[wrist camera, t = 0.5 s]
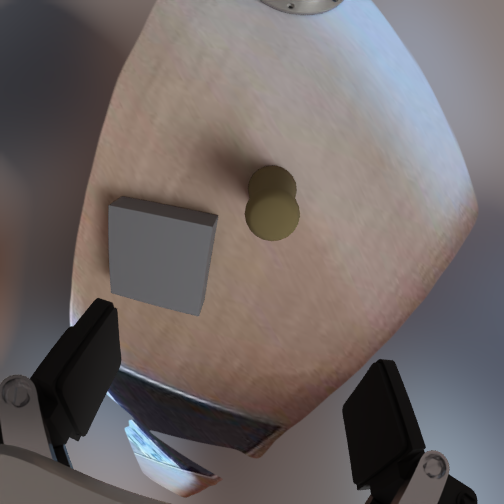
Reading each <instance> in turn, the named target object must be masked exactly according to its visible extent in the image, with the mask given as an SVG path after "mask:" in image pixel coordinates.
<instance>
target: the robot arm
mask: <svg viewBox="0 0 504 504" xmlns="http://www.w3.org/2000/svg"><path fill="white" fill-rule="evenodd" d="M261 1H262V2H263V3H265V4H267V5H268V6H270V7H272V8H274V9H277V10H279V11H282V12H285V13H289V14H296V15H315V14H321V13H324V12H327V11H330V10H332V9H334V8H336V7H337V6H338V5H339V4H341V3H342V2H343V0H334V1H335V2H333V1H332V0H261ZM289 7H292V8H293V9H289ZM120 365H121V351H120V341H119V329H118V313H117V308H114V306H113V303H112V302H109V301H106V300H103V299H100V298H97V299H96V300H95V301H94V302H93V303H92V304H91V305H90V307H89V308H88V309H87V310H86V312H85V313H84V314H83V315H82V316H81V318H80V319H79V320H78V321H77V323H76V324H75V325H74V326H71V327H69V328H68V329H67V330H66V331H65V333H64V334H63V335H62V336H61V338H60V339H59V340H58V341H57V343H56V344H55V345H54V347H53V348H52V349H51V351H50V352H49V353H48V355H47V356H46V357H45V359H44V360H43V361H42V363H41V364H40V365H39V367H38V368H37V369H36V371H35V372H34V374H33V375H32V377H31V378H30V379H29V378H27V377H26V376H22V375H12V376H9V377H7V378H5V379H4V380H3V381H2V382H1V384H0V504H170V503H166V502H162V501H158V500H155V499H152V498H148V497H145V496H142V495H139V494H136V493H132V492H129V491H126V490H124V489H121V488H118V487H116V486H113V485H110V484H107V483H105V482H102V481H100V480H97V479H95V478H92V477H90V476H88V475H85V474H83V473H81V472H79V471H76V470H74V469H73V467H72V464H71V461H70V458H69V455H68V452H67V449H66V446H65V444H66V443H67V441H68V439H69V437H70V438H72V439H75V440H77V441H79V439H80V437H81V436H85V435H86V434H87V432H88V430H89V428H90V426H91V424H92V422H93V420H94V417H95V415H96V413H97V411H98V409H99V407H100V405H101V403H102V401H103V399H104V397H105V395H106V393H107V391H108V389H109V387H110V385H111V383H112V381H113V379H114V377H115V375H116V373H117V372H118V370H119V368H120ZM342 412H343V419H344V424H345V430H346V437H347V442H348V449H349V456H350V462H351V470H352V476H353V482H354V483H355V484H357V490H366V489H370V490H371V495H370V496H369V498H368V500H367V501H366V503H365V504H477V496H476V494H475V493H474V491H473V490H472V489H471V488H469V487H468V486H466V485H464V484H463V483H461V482H460V481H458V480H456V479H455V478H453V477H452V476H450V475H449V463H448V461H447V459H446V457H445V456H444V455H443V454H441V453H440V452H438V451H433V450H431V451H427V452H426V453H425V452H424V449H425V448H426V447H425V444H424V440H423V437H422V435H421V431H420V428H419V425H418V422H417V419H416V417H415V414H414V411H413V408H412V405H411V403H410V400H409V397H408V395H407V392H406V390H405V387H404V384H403V381H402V379H401V376H400V374H399V371H398V369H397V366H396V364H395V362H394V361H393V360H382V359H379V360H378V361H377V362H376V363H373V364H372V365H371V367H370V368H369V370H368V371H367V373H366V374H365V376H364V377H363V379H362V380H361V381H360V383H359V384H358V386H357V387H356V389H355V390H354V392H353V393H352V394H351V395H350V397H349V398H348V400H347V401H346V402H345V404H344V405H343V409H342Z"/></svg>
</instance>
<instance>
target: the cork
mask: <svg viewBox="0 0 504 504" xmlns="http://www.w3.org/2000/svg"><path fill="white" fill-rule="evenodd" d="M248 191H249V197H250V199H249V201H248V203H247V205H246V209H245V218H246V223H247V225H248V227H249V228H250V230H251V231H252V232H253V233H254V234H255V235H256V236H257V237H259V238H261V239H263V240H268V241H277V240H281V239H284V238H286V237H288V236H289V235H290V234H291V233H292V232H293V231H294V230H295V228H296V227H297V225H298V222H299V218H300V212H299V206H298V204H297V201H296V199H295V196H296V191H297V189H296V182H295V180H294V178H293V176H292V175H291V174H290V173H289V172H288V171H287V170H285V169H283V168H281V167H278V166H266V167H263V168H261V169H259V170H258V171H257V172H255V173H254V174H253V176H252V177H251V179H250V181H249V186H248Z"/></svg>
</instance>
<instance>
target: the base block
mask: <svg viewBox="0 0 504 504" xmlns="http://www.w3.org/2000/svg"><path fill="white" fill-rule="evenodd" d="M217 220H218V215H214V214H209V213H204V212H199V211H195V210H190V209H185V208H180V207H175V206H170V205H165V204H160V203H155V202H150V201H145V200H140V199H135V198H130V197H124V196H122V197H120V198H119V199H117V200H116V201H114V202H113V203H111V204H110V205H109V215H108V236H109V268H110V285H111V293H113V294H117V295H120V296H123V297H127V298H130V299H134V300H137V301H141V302H145V303H148V304H152V305H156V306H159V307H163V308H167V309H171V310H175V311H179V312H183V313H187V314H191V315H195V316H199V315H200V312H201V309H202V306H203V303H204V299H205V292H206V286H207V280H208V273H209V267H210V261H211V255H212V249H213V243H214V237H215V232H216V226H217Z"/></svg>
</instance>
